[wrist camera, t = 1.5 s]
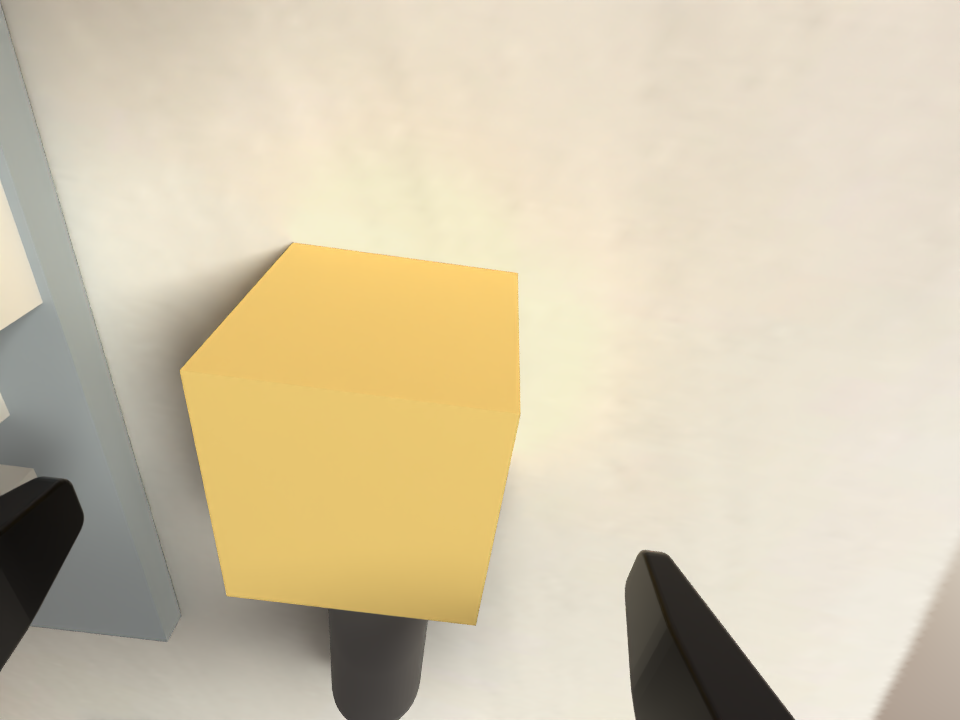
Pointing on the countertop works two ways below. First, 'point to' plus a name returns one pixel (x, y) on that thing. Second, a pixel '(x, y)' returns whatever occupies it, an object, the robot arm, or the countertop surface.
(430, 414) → the cable
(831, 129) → the countertop surface
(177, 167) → the countertop surface
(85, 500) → the board
